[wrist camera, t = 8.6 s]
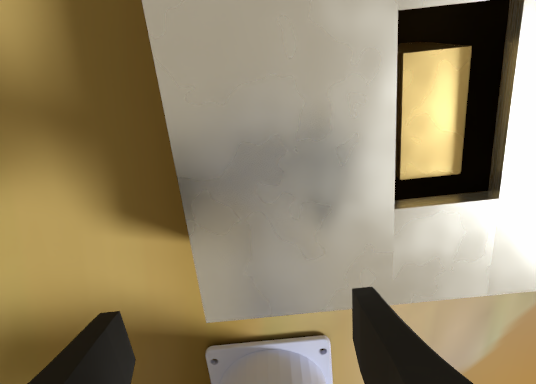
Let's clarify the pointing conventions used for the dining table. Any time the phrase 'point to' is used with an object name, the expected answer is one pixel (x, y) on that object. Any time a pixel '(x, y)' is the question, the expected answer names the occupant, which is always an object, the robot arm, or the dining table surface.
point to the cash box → (330, 159)
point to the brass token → (430, 108)
